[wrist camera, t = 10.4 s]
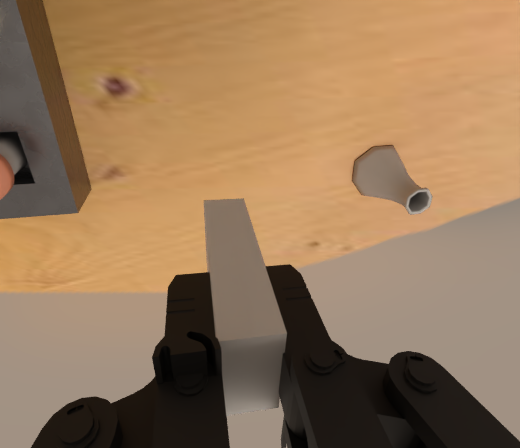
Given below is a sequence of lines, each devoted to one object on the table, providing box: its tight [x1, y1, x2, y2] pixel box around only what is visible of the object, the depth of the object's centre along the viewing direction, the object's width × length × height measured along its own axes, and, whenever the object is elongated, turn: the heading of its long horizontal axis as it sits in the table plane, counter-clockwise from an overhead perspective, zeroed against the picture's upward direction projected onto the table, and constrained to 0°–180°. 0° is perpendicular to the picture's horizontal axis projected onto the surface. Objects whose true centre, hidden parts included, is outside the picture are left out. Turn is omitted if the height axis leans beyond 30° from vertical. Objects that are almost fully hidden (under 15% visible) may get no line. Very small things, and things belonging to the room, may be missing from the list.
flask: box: [352, 145, 432, 215], centre depth 42 cm, size 7×7×10 cm
